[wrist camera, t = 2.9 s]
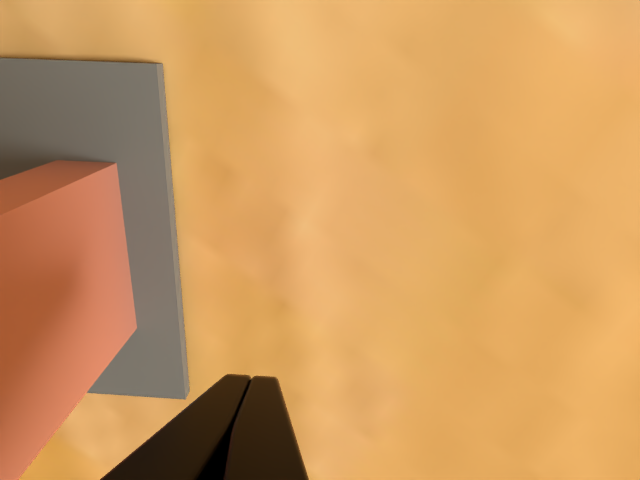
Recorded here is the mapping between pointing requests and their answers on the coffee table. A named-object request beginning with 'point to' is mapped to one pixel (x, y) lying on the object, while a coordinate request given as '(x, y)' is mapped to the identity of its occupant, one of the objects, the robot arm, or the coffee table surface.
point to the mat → (135, 188)
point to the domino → (57, 298)
